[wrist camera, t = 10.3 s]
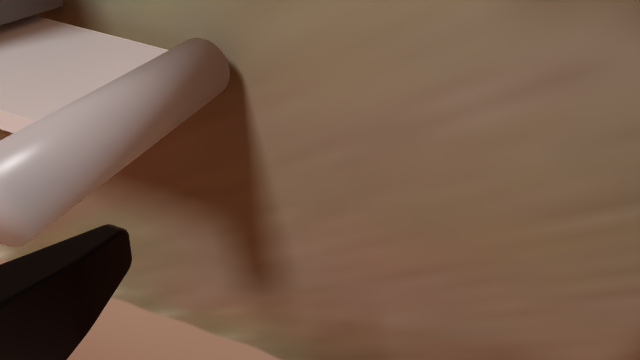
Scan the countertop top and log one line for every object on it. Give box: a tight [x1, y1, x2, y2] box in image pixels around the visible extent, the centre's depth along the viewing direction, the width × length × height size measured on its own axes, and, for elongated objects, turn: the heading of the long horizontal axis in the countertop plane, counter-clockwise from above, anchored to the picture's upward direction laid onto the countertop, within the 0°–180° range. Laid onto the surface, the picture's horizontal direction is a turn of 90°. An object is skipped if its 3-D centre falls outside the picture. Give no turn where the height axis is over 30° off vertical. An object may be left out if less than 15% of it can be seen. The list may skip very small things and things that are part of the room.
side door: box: [0, 15, 230, 247], centre depth 18 cm, size 12×3×11 cm, turn 82°
